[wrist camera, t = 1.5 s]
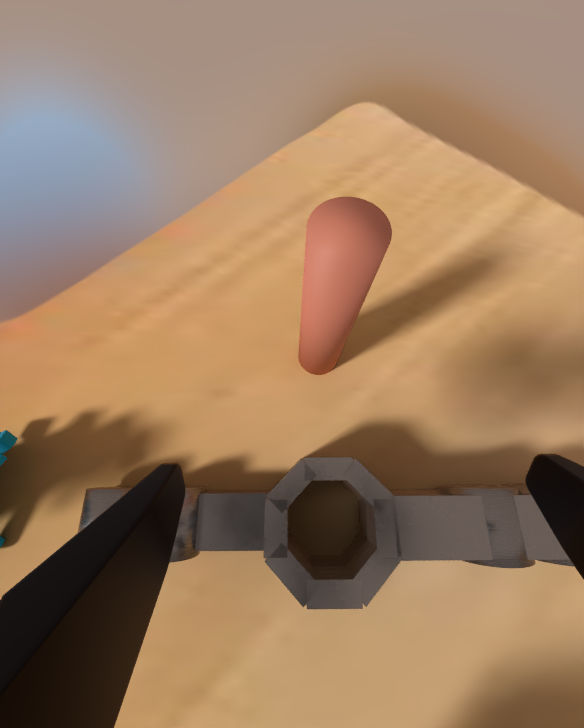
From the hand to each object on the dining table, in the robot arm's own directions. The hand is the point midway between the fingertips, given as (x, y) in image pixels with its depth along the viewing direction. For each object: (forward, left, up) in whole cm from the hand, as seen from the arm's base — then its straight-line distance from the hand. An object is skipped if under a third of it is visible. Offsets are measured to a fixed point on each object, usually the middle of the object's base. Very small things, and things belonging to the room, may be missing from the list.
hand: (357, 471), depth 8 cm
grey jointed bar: (-3, 0, -13) cm, 14 cm away
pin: (+8, 0, -13) cm, 16 cm away
